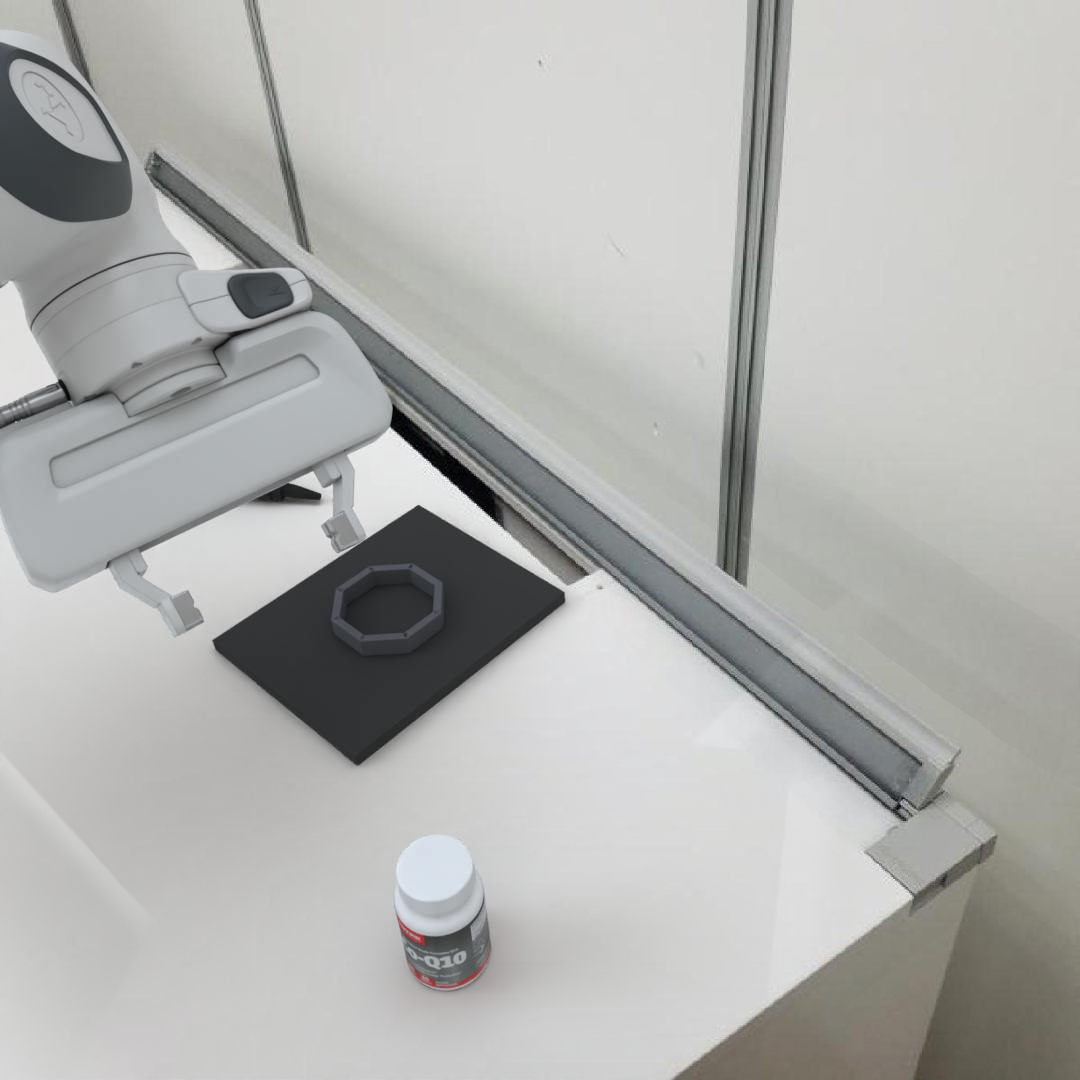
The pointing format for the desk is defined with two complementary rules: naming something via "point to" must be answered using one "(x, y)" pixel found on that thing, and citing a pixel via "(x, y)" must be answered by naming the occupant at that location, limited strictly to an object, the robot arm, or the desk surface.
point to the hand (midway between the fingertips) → (273, 586)
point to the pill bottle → (442, 912)
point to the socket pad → (387, 630)
